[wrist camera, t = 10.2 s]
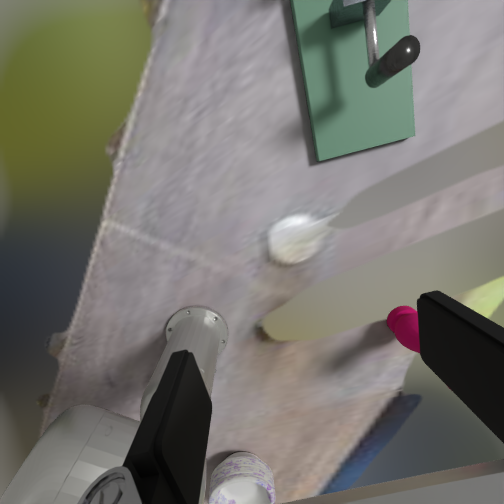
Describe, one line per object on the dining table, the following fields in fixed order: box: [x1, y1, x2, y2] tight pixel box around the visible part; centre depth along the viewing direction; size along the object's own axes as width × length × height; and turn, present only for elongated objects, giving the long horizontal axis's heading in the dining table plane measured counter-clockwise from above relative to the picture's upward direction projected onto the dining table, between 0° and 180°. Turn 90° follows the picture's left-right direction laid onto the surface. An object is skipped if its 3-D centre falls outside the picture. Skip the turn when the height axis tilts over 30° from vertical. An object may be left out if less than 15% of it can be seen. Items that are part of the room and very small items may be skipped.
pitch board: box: [290, 0, 415, 162], centre depth 38 cm, size 25×16×2 cm, turn 14°
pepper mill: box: [387, 306, 450, 389], centre depth 42 cm, size 7×7×20 cm
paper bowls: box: [208, 452, 275, 504], centre depth 59 cm, size 15×15×8 cm
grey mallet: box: [328, 0, 420, 88], centre depth 31 cm, size 12×7×11 cm, turn 14°
